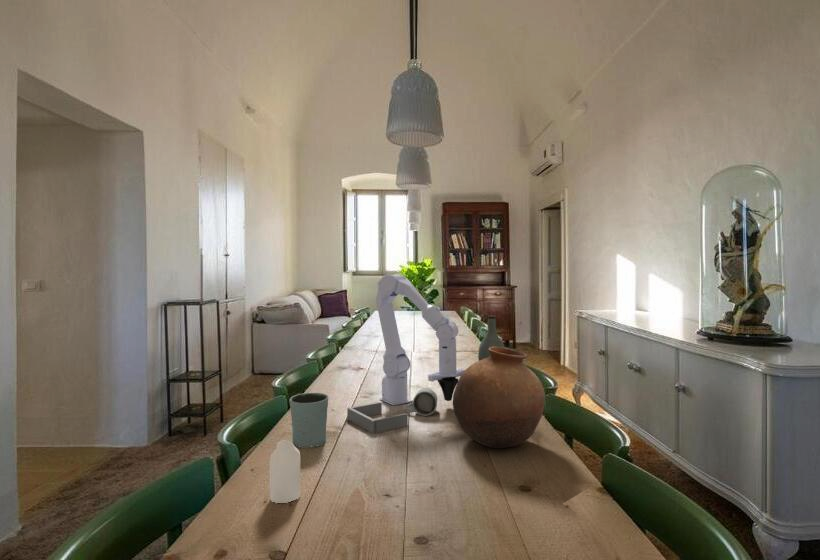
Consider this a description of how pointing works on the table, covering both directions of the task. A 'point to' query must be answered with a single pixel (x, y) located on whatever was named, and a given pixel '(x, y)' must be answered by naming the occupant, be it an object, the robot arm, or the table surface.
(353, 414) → the box
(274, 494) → the white shouldered tall container
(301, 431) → the green tapered cup
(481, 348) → the bottle
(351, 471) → the table surface
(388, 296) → the robot arm
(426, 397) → the ceramic mug
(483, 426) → the pottery
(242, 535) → the table surface
